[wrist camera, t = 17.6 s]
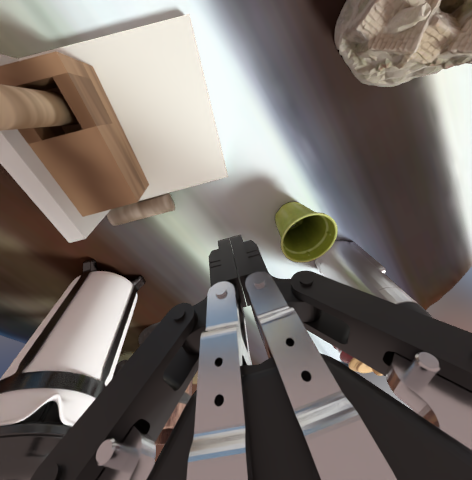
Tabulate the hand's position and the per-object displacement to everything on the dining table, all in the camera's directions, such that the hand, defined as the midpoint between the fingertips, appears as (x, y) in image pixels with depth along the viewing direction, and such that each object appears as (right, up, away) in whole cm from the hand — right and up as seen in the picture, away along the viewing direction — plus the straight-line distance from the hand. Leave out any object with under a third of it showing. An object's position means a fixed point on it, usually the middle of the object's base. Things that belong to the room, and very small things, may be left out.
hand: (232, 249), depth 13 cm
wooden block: (-15, +5, +21) cm, 27 cm away
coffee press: (-27, -10, +30) cm, 41 cm away
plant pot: (+11, +5, +27) cm, 29 cm away
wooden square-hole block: (-18, +14, +14) cm, 26 cm away
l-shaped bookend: (-13, +16, +15) cm, 26 cm away
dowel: (-18, +15, +10) cm, 26 cm away
